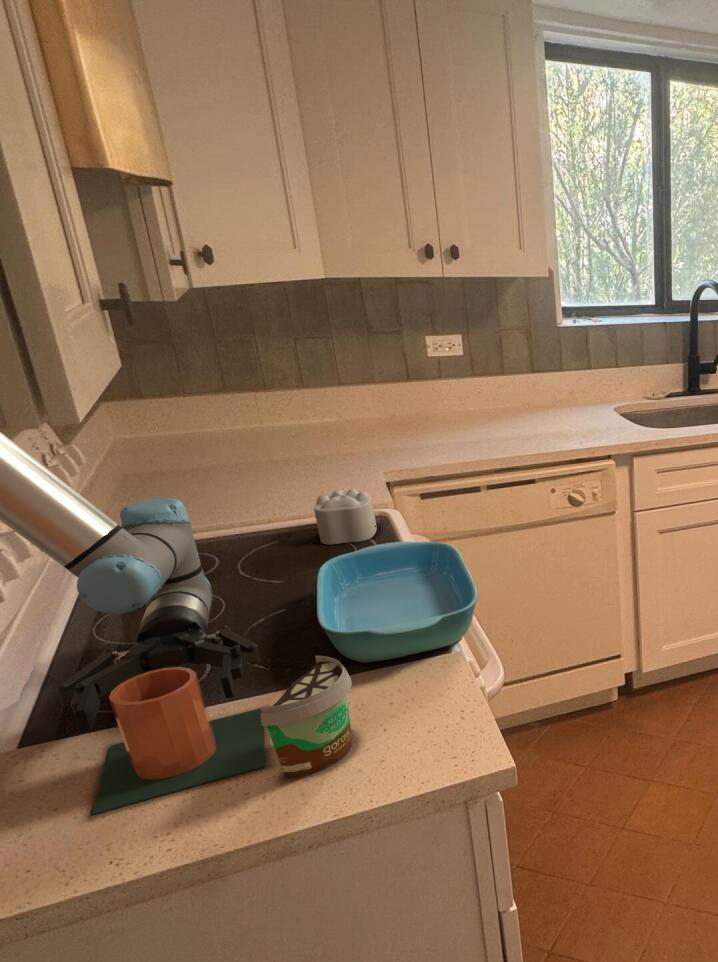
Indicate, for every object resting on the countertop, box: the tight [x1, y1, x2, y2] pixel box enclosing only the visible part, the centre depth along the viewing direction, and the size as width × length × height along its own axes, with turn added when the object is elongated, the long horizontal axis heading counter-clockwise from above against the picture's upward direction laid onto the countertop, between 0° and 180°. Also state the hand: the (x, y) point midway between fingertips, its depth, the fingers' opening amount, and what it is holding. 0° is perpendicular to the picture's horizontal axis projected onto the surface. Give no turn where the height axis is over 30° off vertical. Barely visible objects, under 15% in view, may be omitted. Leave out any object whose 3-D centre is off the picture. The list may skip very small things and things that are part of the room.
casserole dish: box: [316, 541, 479, 664], centre depth 126 cm, size 37×22×7 cm, turn 28°
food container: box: [260, 655, 353, 778], centre depth 92 cm, size 12×6×10 cm, turn 179°
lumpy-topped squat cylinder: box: [313, 487, 378, 545], centre depth 163 cm, size 10×13×9 cm
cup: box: [108, 666, 216, 780], centre depth 91 cm, size 8×8×10 cm
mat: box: [91, 708, 266, 816], centre depth 93 cm, size 14×16×1 cm
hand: (157, 704), depth 90 cm, fingers open, 13 cm apart
